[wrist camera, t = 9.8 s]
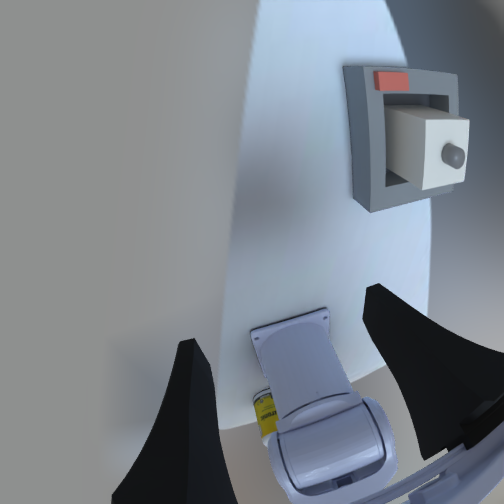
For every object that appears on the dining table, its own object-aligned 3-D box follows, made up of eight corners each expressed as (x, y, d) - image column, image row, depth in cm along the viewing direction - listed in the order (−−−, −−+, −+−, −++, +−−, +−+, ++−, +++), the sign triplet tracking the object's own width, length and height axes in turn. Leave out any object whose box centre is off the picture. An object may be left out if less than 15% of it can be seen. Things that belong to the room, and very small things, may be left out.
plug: (421, 157, 19) (473, 187, 14) (379, 163, 19) (432, 197, 14) (421, 105, 16) (480, 124, 12) (377, 105, 16) (437, 123, 11)
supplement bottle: (289, 382, 34) (310, 446, 26) (290, 397, 38) (309, 455, 30) (249, 392, 34) (265, 458, 26) (254, 406, 37) (269, 465, 29)
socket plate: (434, 180, 21) (456, 194, 18) (353, 198, 20) (373, 216, 18) (435, 71, 15) (461, 75, 13) (342, 66, 15) (367, 66, 12)
